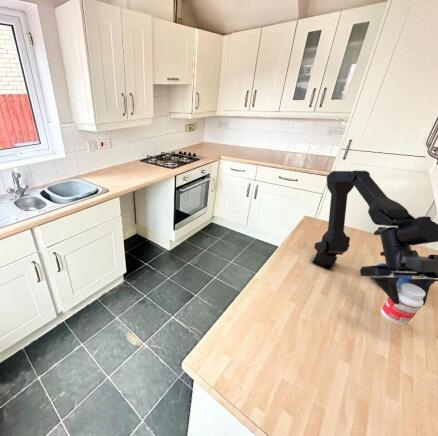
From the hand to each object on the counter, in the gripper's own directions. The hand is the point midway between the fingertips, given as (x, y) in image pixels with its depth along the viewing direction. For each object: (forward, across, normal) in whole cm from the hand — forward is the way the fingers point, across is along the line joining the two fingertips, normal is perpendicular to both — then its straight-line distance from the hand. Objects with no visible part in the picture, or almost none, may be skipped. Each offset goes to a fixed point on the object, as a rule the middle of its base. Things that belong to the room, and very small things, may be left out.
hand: (409, 304), depth 66 cm
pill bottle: (+4, 0, +6) cm, 7 cm away
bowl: (-6, +20, +26) cm, 34 cm away
